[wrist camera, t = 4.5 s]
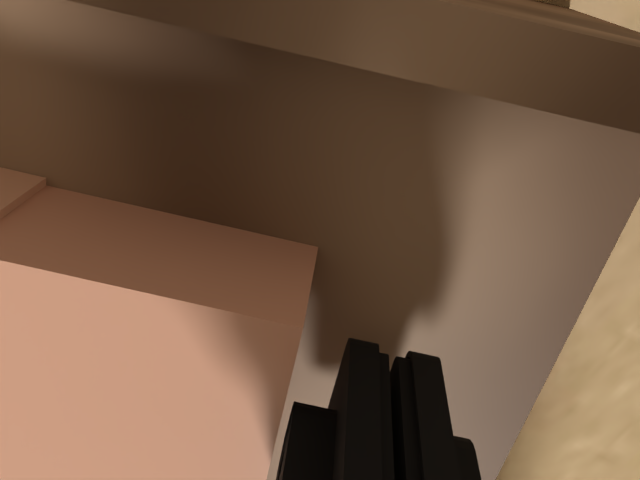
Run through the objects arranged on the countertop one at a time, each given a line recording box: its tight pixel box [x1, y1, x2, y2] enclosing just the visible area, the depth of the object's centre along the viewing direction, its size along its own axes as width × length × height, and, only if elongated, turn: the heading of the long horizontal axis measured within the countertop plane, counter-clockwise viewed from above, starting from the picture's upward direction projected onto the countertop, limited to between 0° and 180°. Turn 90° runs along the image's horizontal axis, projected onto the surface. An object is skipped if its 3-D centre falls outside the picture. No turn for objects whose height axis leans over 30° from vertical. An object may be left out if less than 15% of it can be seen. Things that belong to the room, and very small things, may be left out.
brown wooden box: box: [0, 0, 640, 480], centre depth 14 cm, size 14×14×9 cm
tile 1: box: [0, 185, 318, 480], centre depth 11 cm, size 5×5×2 cm
